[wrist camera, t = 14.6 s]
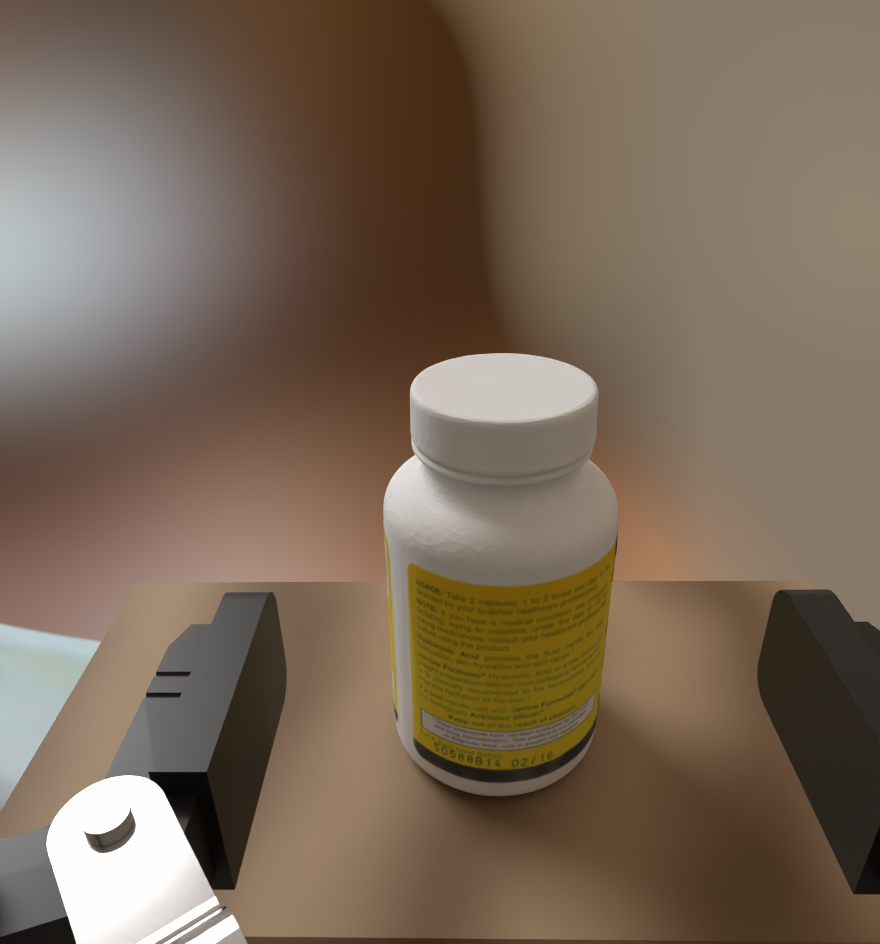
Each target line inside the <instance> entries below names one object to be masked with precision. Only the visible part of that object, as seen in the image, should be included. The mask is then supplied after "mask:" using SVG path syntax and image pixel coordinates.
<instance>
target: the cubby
mask: <svg viewBox="0 0 880 944" xmlns="http://www.w3.org/2000/svg"><path fill="white" fill-rule="evenodd" d="M779 590H816V589H815V587H814V586H813V584H812V583H811V581H636V582H635V581H634V582H633V581H630V582H629V581H627V582H626V581H617V582H615V581H612V589H611V597H610V607H609V615H608V626H607V633H606V644H605V653H604V661H603V670H602V678H601V688H600V698H599V708H598V713H597V720H596V725H595V731H594V735H593V739H592V742H591V744H590V746H589V748H588V750H587V752H586V754H585V755H584V757H583V758H582V759H581V761H580V762H579V763H578V764H577V765H576V766H575V767H574V768H573V769H572V770H571V771H570V772H569V773H568V774H566V775H565V776H564V777H562V778H561V779H559V780H558V781H556V782H554V783H552V784H550V785H548V786H546V787H544V788H542V789H539V790H536V791H533V792H529V793H525V794H520V795H513V796H483V795H477V794H472V793H468V792H465V791H462V790H459V789H456V788H453V787H451V786H449V785H447V784H444V783H443V782H441V781H439V780H437V779H436V778H434V777H432V776H431V775H430V774H428V773H427V772H426V771H424V770H423V769H422V768H421V767H420V766H419V765H418V764H417V763H416V762H415V761H414V760H413V759H412V758H411V756H410V755H409V754H408V752H407V751H406V749H405V747H404V746H403V744H402V742H401V739H400V737H399V734H398V730H397V727H396V720H395V712H394V699H393V685H392V665H391V644H390V625H389V607H388V591H387V582H270V583H269V582H267V583H266V582H261V583H260V582H258V583H257V582H254V583H250V582H249V583H136V585H135V587H134V588H133V590H132V592H131V593H130V595H129V597H128V598H127V600H126V602H125V603H124V606H123V607H122V609H121V610H120V612H119V614H118V615H117V617H116V619H115V620H114V622H113V624H112V625H111V627H110V629H109V630H108V632H107V634H106V635H105V637H104V639H103V640H102V642H101V644H100V645H99V647H98V649H97V651H96V652H95V654H94V656H93V657H92V659H91V661H90V662H89V664H88V666H87V667H86V669H85V671H84V672H83V674H82V676H81V677H80V679H79V681H78V683H77V684H76V686H75V688H74V689H73V691H72V693H71V694H70V696H69V698H68V699H67V701H66V703H65V704H64V706H63V708H62V709H61V711H60V713H59V714H58V716H57V718H56V720H55V721H54V723H53V725H52V726H51V728H50V730H49V731H48V733H47V735H46V736H45V738H44V740H43V741H42V743H41V745H40V746H39V748H38V750H37V752H36V753H35V755H34V757H33V758H32V760H31V762H30V763H29V765H28V767H27V768H26V770H25V772H24V773H23V775H22V777H21V778H20V780H19V782H18V784H17V785H16V787H15V789H14V790H13V792H12V794H11V795H10V797H9V799H8V800H7V802H6V804H5V805H4V807H3V809H2V810H1V812H0V840H2V839H5V838H9V837H12V836H16V835H20V834H23V833H27V832H30V831H34V830H37V829H40V828H43V827H46V826H48V825H50V824H52V823H53V821H54V819H55V817H56V816H57V815H58V813H59V812H60V810H61V809H62V808H63V807H64V806H65V805H66V804H67V803H68V802H69V801H70V800H71V799H72V798H73V797H74V796H76V795H77V794H79V793H80V792H81V791H83V790H84V789H86V788H88V787H90V786H92V785H94V784H96V783H98V782H101V781H103V780H104V778H105V776H106V774H107V772H108V770H109V768H110V766H111V764H112V762H113V760H114V758H115V756H116V754H117V752H118V749H119V747H120V745H121V743H122V741H123V739H124V737H125V735H126V733H127V731H128V729H129V727H130V725H131V722H132V720H133V718H134V716H135V714H136V712H137V710H138V708H139V706H140V704H141V702H142V700H143V698H146V691H147V689H148V687H149V685H150V683H151V681H152V679H153V677H156V671H157V669H158V667H159V664H160V662H161V660H162V658H163V656H164V654H165V652H166V650H167V648H168V646H169V645H170V644H171V643H172V642H173V641H174V640H175V639H177V638H178V637H179V636H180V635H181V634H182V633H183V632H184V631H185V630H186V629H187V628H188V627H189V626H190V625H191V624H211V623H212V621H213V619H214V616H215V614H216V611H217V609H218V607H219V604H220V602H221V600H222V598H223V596H224V594H225V593H227V592H273V593H274V595H275V597H276V601H277V607H278V614H279V620H280V627H281V633H282V640H283V646H284V653H285V659H286V668H287V684H286V695H285V701H284V705H283V709H282V713H281V717H280V720H279V724H278V728H277V732H276V736H275V739H274V743H273V747H272V751H271V755H270V758H269V762H268V766H267V770H266V774H265V778H264V781H263V785H262V789H261V793H260V797H259V800H258V804H257V808H256V812H255V816H254V819H253V823H252V827H251V831H250V835H249V838H248V842H247V846H246V850H245V854H244V858H243V861H242V865H241V869H240V873H239V877H238V880H237V884H236V888H235V890H212V891H213V893H214V895H215V897H216V898H217V900H218V902H219V904H220V906H221V907H224V906H226V907H227V908H228V909H229V910H230V912H231V913H232V915H233V917H234V919H235V920H236V922H237V924H238V926H239V928H240V930H241V932H242V934H243V936H244V938H245V940H246V942H247V944H880V895H878V894H853V893H852V891H851V889H850V886H849V884H848V882H847V880H846V878H845V876H844V874H843V872H842V870H841V867H840V865H839V863H838V861H837V859H836V857H835V855H834V853H833V850H832V848H831V846H830V844H829V842H828V840H827V838H826V836H825V834H824V831H823V829H822V827H821V825H820V823H819V821H818V819H817V817H816V815H815V812H814V810H813V808H812V806H811V804H810V802H809V800H808V798H807V795H806V793H805V791H804V789H803V787H802V785H801V783H800V781H799V779H798V776H797V774H796V772H795V770H794V768H793V766H792V764H791V762H790V760H789V757H788V755H787V753H786V751H785V749H784V747H783V745H782V743H781V740H780V738H779V736H778V734H777V732H776V730H775V728H774V726H773V724H772V721H771V719H770V717H769V715H768V713H767V711H766V709H765V707H764V704H763V702H762V699H761V696H760V692H759V687H758V678H757V668H758V661H759V656H760V652H761V648H762V643H763V639H764V635H765V630H766V626H767V622H768V618H769V613H770V609H771V605H772V601H773V598H774V595H775V594H776V592H777V591H779Z"/></svg>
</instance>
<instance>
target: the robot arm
mask: <svg viewBox="0 0 880 944" xmlns="http://www.w3.org/2000/svg"><path fill="white" fill-rule="evenodd" d="M757 678H758V687H759V692H760V696H761V699H762V702H763V704H764V707H765V709H766V711H767V713H768V715H769V717H770V719H771V721H772V724H773V726H774V728H775V730H776V732H777V734H778V736H779V738H780V740H781V743H782V745H783V747H784V749H785V751H786V753H787V755H788V757H789V760H790V762H791V764H792V766H793V768H794V770H795V772H796V774H797V776H798V779H799V781H800V783H801V785H802V787H803V789H804V791H805V793H806V795H807V798H808V800H809V802H810V804H811V806H812V808H813V810H814V812H815V815H816V817H817V819H818V821H819V823H820V825H821V827H822V829H823V831H824V834H825V836H826V838H827V840H828V842H829V844H830V846H831V848H832V850H833V853H834V855H835V857H836V859H837V861H838V863H839V865H840V867H841V870H842V872H843V874H844V876H845V878H846V880H847V882H848V884H849V886H850V889H851V891H852V893H853V894H878V895H880V631H879V630H878V629H877V628H875V627H874V626H872V625H871V624H870V623H868V622H854V620H853V619H852V618H851V616H850V615H849V613H848V612H847V610H846V609H845V608H844V606H843V605H842V603H841V602H840V600H839V599H838V598H837V596H836V595H835V594H834V593H833V592H832V591H830V590H779V591H777V592H776V594H775V595H774V598H773V601H772V605H771V609H770V613H769V618H768V622H767V626H766V630H765V635H764V639H763V643H762V648H761V652H760V656H759V661H758V668H757ZM286 684H287V668H286V659H285V653H284V646H283V640H282V633H281V627H280V620H279V614H278V607H277V601H276V597H275V595H274V593H273V592H227V593H225V594H224V596H223V598H222V600H221V602H220V604H219V607H218V609H217V611H216V614H215V616H214V619H213V621H212V623H211V624H191V625H190V626H189V627H188V628H187V629H186V630H185V631H184V632H183V633H182V634H181V635H180V636H179V637H178V638H177V639H175V640H174V641H173V642H172V643H171V644H170V645H169V646H168V648H167V650H166V652H165V654H164V656H163V658H162V660H161V662H160V664H159V667H158V669H157V671H156V677H153V679H152V681H151V683H150V685H149V687H148V689H147V691H146V698H143V700H142V702H141V704H140V706H139V708H138V710H137V712H136V714H135V716H134V718H133V720H132V722H131V725H130V727H129V729H128V731H127V733H126V735H125V737H124V739H123V741H122V743H121V745H120V747H119V749H118V752H117V754H116V756H115V758H114V760H113V762H112V764H111V766H110V768H109V770H108V772H107V774H106V776H105V778H104V780H103V781H101V782H98V783H96V784H94V785H92V786H90V787H88V788H86V789H84V790H83V791H81V792H80V793H79V794H77V795H76V796H74V797H73V798H72V799H71V800H70V801H69V802H68V803H67V804H66V805H65V806H64V807H63V808H62V809H61V810H60V812H59V813H58V815H57V816H56V817H55V819H54V821H53V823H52V824H50V825H48V826H46V827H43V828H40V829H37V830H34V831H30V832H27V833H23V834H20V835H16V836H12V837H9V838H5V839H2V840H0V944H247V942H246V940H245V938H244V936H243V934H242V932H241V930H240V928H239V926H238V924H237V922H236V920H235V919H234V917H233V915H232V913H231V912H230V910H229V909H228V908H227V907H226V906H224V907H221V906H220V904H219V902H218V900H217V898H216V897H215V895H214V893H213V891H212V890H235V888H236V884H237V880H238V877H239V873H240V869H241V865H242V861H243V858H244V854H245V850H246V846H247V842H248V838H249V835H250V831H251V827H252V823H253V819H254V816H255V812H256V808H257V804H258V800H259V797H260V793H261V789H262V785H263V781H264V778H265V774H266V770H267V766H268V762H269V758H270V755H271V751H272V747H273V743H274V739H275V736H276V732H277V728H278V724H279V720H280V717H281V713H282V709H283V705H284V701H285V695H286Z"/></svg>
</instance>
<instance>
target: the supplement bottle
mask: <svg viewBox="0 0 880 944" xmlns="http://www.w3.org/2000/svg"><path fill="white" fill-rule="evenodd" d="M598 396H599V393H598V388H597V386H596V384H595V382H594V380H593V379H592V378H591V377H590V376H589V375H588V374H586V373H585V372H583V371H582V370H580V369H578V368H576V367H574V366H572V365H569V364H567V363H564V362H561V361H557V360H554V359H550V358H545V357H539V356H532V355H525V354H511V353H510V354H509V353H496V354H480V355H471V356H464V357H459V358H455V359H450V360H446V361H444V362H441V363H438V364H435V365H433V366H431V367H429V368H427V369H425V370H424V371H422V372H421V373H420V374H419V375H418V376H417V377H416V378H415V379H414V381H413V383H412V385H411V389H410V414H411V415H410V418H411V436H412V440H411V442H412V448H413V450H414V453H415V455H414V456H413V457H412V458H410V459H409V460H408V461H406V462H405V463H404V464H403V465H402V466H401V467H400V468H399V470H398V471H397V472H396V473H395V474H394V476H393V478H392V479H391V481H390V483H389V486H388V488H387V490H386V494H385V498H384V510H383V512H384V539H385V553H386V569H387V591H388V607H389V625H390V644H391V665H392V685H393V699H394V712H395V720H396V727H397V730H398V734H399V737H400V739H401V742H402V744H403V746H404V747H405V749H406V751H407V752H408V754H409V755H410V756H411V758H412V759H413V760H414V761H415V762H416V763H417V764H418V765H419V766H420V767H421V768H422V769H423V770H424V771H426V772H427V773H428V774H430V775H431V776H432V777H434V778H436V779H437V780H439V781H441V782H443V783H444V784H447V785H449V786H451V787H453V788H456V789H459V790H462V791H465V792H468V793H472V794H477V795H483V796H513V795H520V794H525V793H529V792H533V791H536V790H539V789H542V788H544V787H546V786H548V785H550V784H552V783H554V782H556V781H558V780H559V779H561V778H562V777H564V776H565V775H566V774H568V773H569V772H570V771H571V770H572V769H573V768H574V767H575V766H576V765H577V764H578V763H579V762H580V761H581V759H582V758H583V757H584V755H585V754H586V752H587V750H588V748H589V746H590V744H591V742H592V739H593V735H594V731H595V725H596V720H597V713H598V708H599V698H600V688H601V678H602V670H603V661H604V653H605V644H606V633H607V626H608V615H609V607H610V597H611V589H612V580H613V571H614V561H615V555H616V549H617V534H618V533H617V532H618V513H619V512H618V504H617V499H616V495H615V492H614V490H613V487H612V486H611V484H610V482H609V480H608V479H607V477H606V476H605V475H604V473H603V472H602V471H601V470H600V469H599V468H598V467H597V466H596V465H595V464H594V463H593V462H591V461H590V460H589V458H590V456H591V454H592V451H593V445H594V443H595V439H596V420H597V409H598Z"/></svg>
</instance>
